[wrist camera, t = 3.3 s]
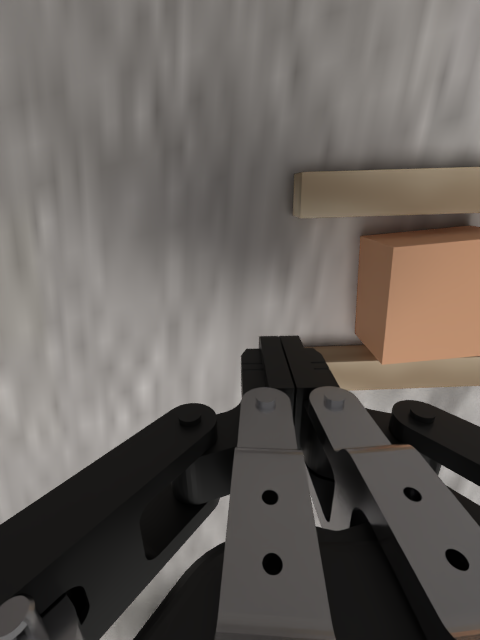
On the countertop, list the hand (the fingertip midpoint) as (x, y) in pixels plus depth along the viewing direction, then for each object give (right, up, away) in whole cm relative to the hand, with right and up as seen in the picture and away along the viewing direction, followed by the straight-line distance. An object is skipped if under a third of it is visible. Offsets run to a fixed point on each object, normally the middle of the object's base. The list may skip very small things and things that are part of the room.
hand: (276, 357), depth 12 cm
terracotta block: (+9, +4, +6) cm, 11 cm away
